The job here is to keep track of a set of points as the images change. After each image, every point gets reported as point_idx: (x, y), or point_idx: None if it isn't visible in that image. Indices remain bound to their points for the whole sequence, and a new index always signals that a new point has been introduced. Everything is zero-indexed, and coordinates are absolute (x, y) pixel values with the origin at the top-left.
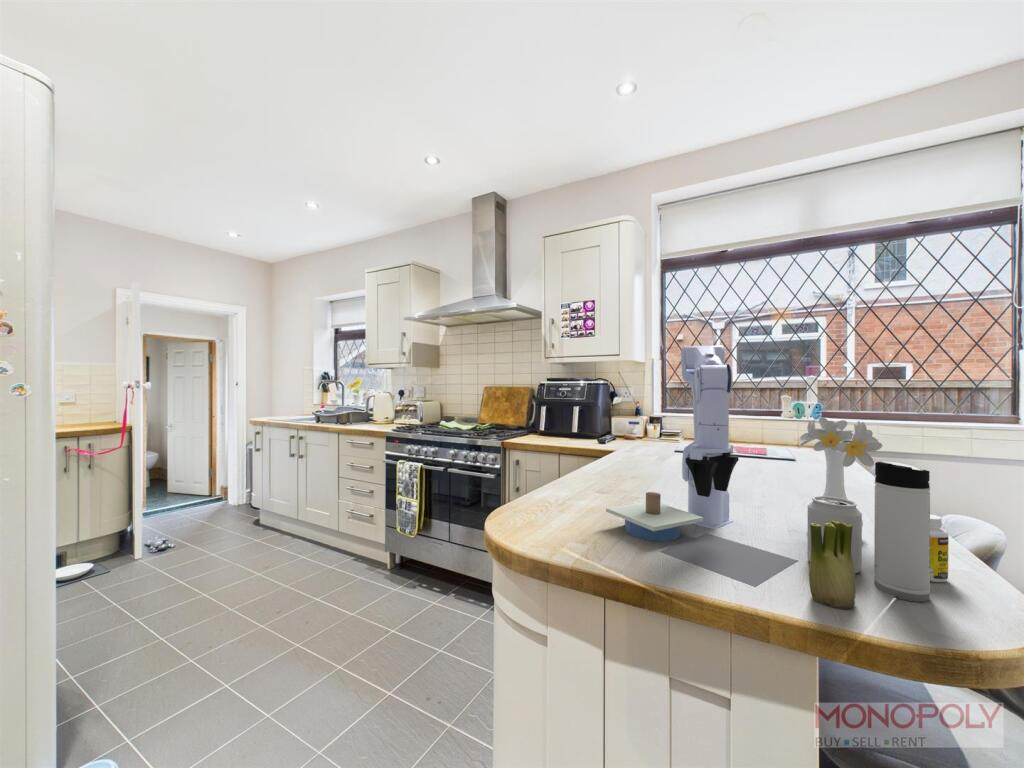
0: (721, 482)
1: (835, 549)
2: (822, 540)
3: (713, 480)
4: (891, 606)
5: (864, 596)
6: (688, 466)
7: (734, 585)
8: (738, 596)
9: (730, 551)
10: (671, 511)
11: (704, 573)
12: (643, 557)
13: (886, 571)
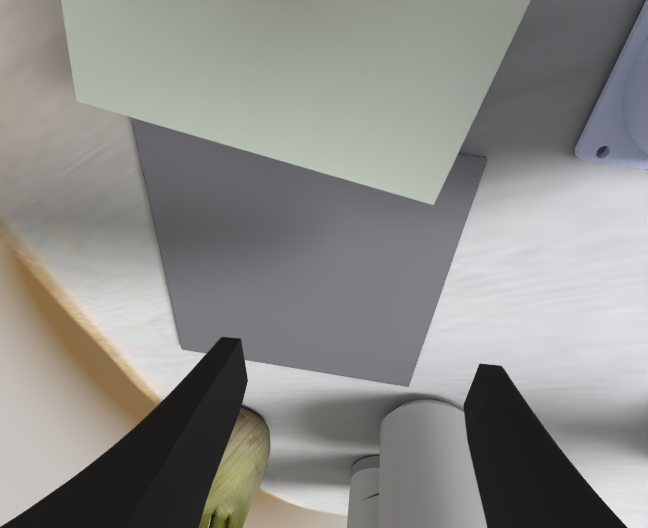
0: (482, 444)
1: (210, 522)
2: (382, 481)
3: (504, 413)
4: (313, 459)
5: (321, 443)
6: (18, 517)
7: (162, 318)
8: (127, 331)
9: (341, 275)
10: (424, 7)
11: (151, 262)
12: (56, 89)
13: (353, 501)
